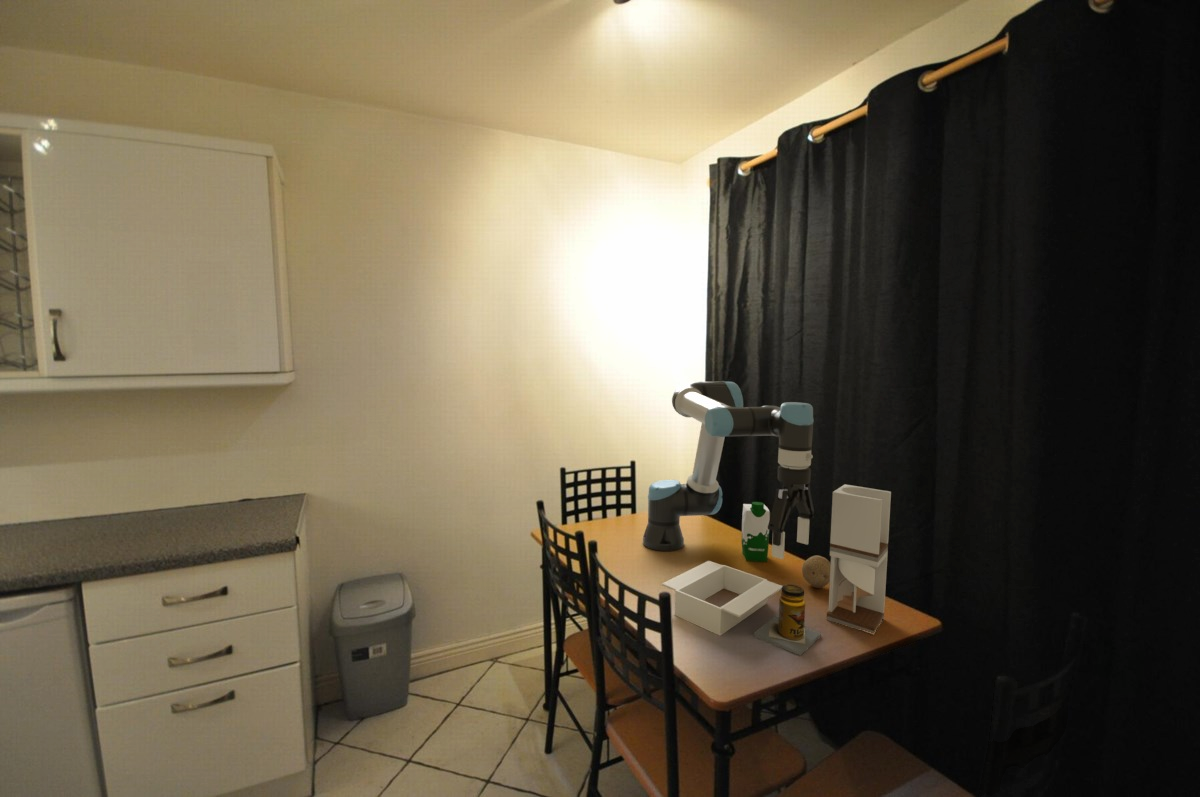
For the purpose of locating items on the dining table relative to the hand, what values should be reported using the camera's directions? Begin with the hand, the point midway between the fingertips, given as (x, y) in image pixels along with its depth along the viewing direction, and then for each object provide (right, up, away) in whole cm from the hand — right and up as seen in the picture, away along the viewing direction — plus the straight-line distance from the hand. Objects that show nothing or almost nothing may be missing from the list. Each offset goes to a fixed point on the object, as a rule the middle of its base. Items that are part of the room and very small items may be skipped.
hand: (790, 550), depth 128 cm
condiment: (0, -22, +2) cm, 22 cm away
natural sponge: (+18, -20, +29) cm, 40 cm away
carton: (-13, -21, +15) cm, 29 cm away
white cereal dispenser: (+21, -22, +10) cm, 32 cm away
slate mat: (0, -22, +2) cm, 22 cm away
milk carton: (+7, -18, +52) cm, 55 cm away
